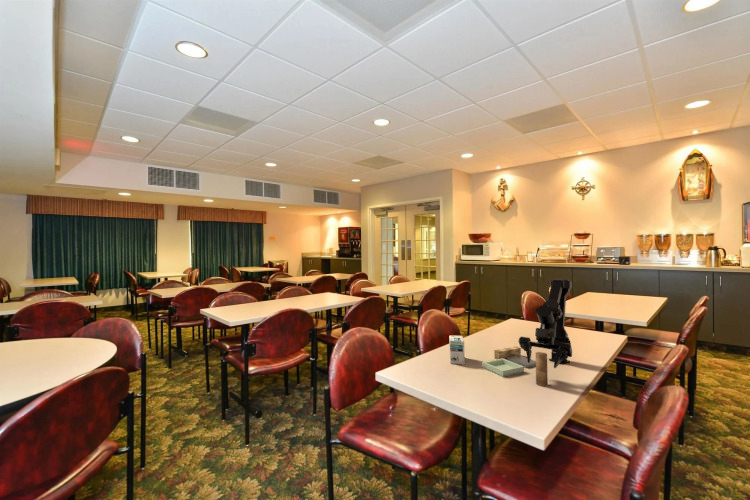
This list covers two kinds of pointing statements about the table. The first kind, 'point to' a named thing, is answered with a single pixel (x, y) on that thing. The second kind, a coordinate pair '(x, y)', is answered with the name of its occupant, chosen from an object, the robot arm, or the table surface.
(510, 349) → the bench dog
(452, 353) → the light bulb box
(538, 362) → the walnut dowel
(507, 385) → the table surface
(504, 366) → the tray
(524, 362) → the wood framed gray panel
